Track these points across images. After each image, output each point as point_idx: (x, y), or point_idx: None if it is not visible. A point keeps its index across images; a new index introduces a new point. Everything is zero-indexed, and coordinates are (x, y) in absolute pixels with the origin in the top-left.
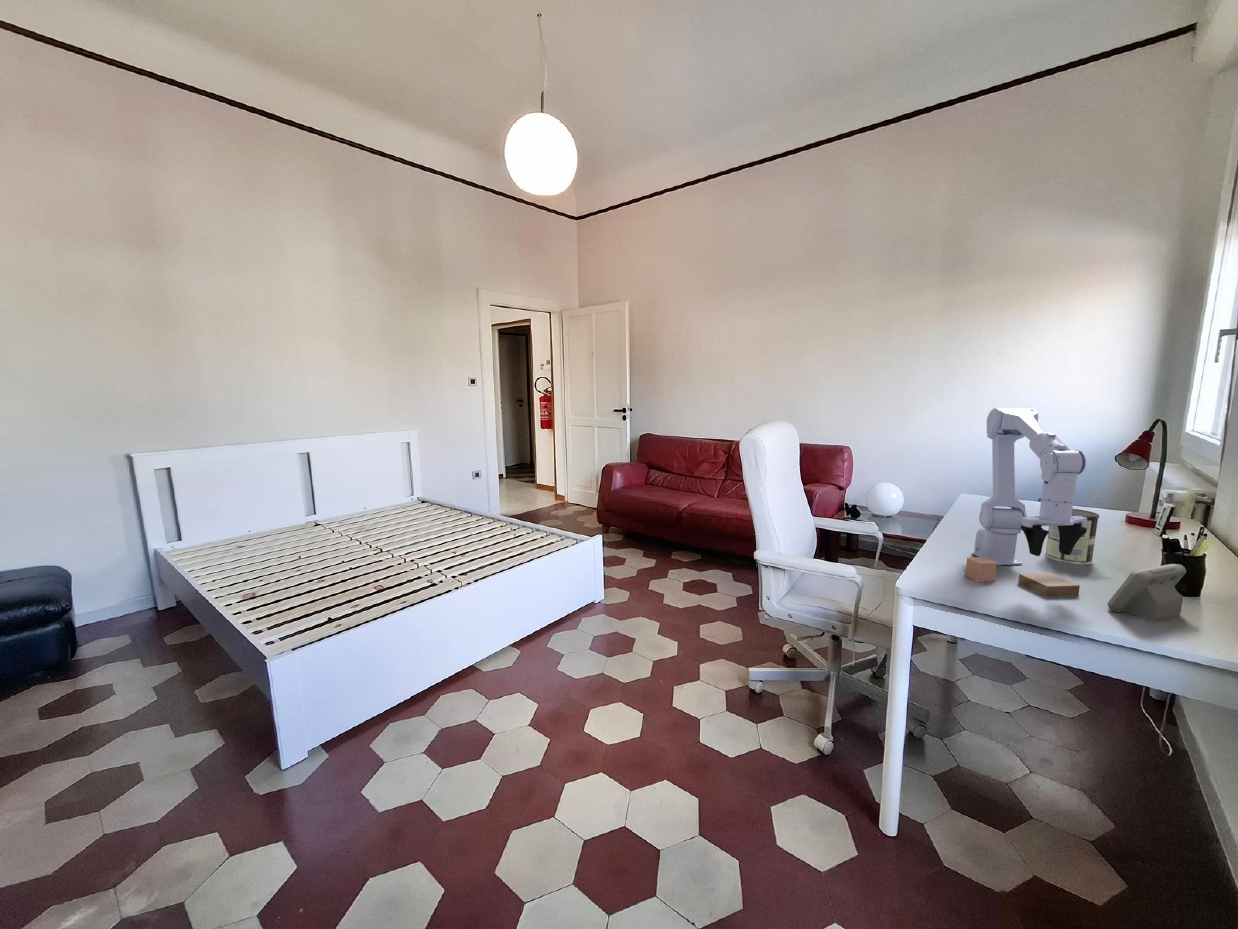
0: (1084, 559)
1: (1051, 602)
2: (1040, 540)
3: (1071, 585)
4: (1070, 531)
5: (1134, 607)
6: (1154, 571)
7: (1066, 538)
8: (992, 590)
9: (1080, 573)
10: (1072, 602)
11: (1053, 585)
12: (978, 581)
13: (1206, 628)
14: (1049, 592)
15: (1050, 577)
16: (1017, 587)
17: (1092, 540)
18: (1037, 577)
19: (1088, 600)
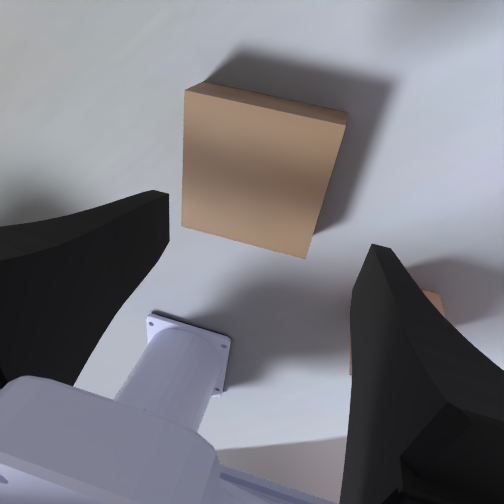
0: None
1: (401, 53)
2: (450, 335)
3: (223, 100)
4: (39, 316)
5: None
6: None
7: (99, 282)
8: (496, 227)
9: (35, 219)
10: (303, 26)
11: (305, 126)
12: (436, 293)
13: None
14: (334, 114)
15: (223, 194)
16: (356, 214)
17: None
18: (275, 212)
19: (209, 26)
